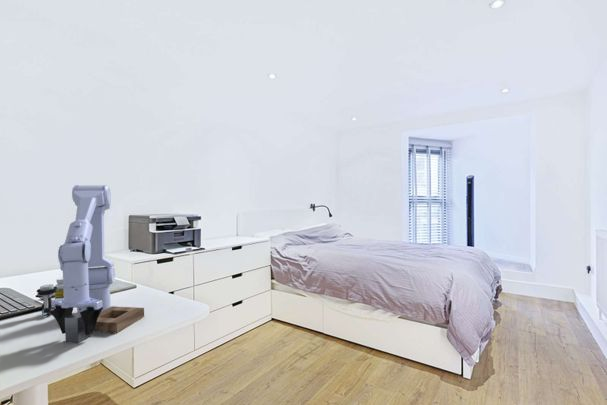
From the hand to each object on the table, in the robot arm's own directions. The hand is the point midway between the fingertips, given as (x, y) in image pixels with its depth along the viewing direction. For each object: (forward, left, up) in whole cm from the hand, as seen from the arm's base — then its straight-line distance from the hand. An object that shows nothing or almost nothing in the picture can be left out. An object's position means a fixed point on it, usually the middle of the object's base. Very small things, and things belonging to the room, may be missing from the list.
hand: (78, 332), depth 87 cm
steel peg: (0, 0, -2) cm, 2 cm away
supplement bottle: (-31, +25, -2) cm, 40 cm away
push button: (-26, +14, -2) cm, 30 cm away
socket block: (+2, +11, -2) cm, 11 cm away
